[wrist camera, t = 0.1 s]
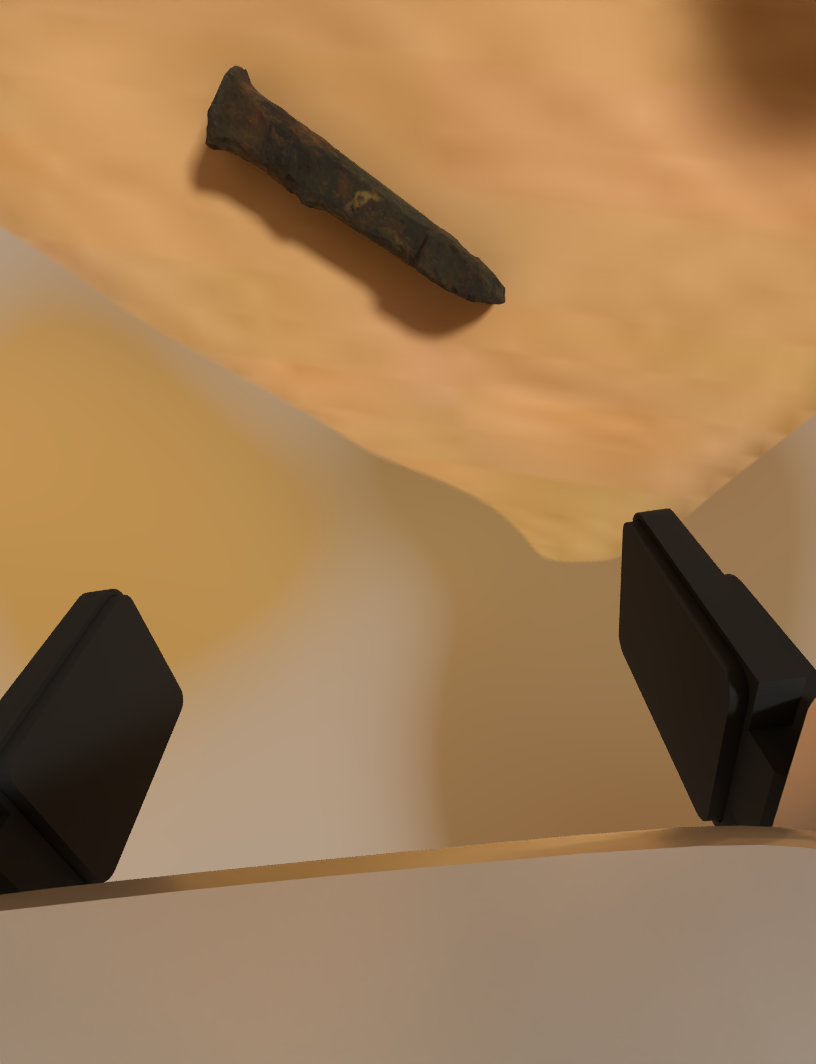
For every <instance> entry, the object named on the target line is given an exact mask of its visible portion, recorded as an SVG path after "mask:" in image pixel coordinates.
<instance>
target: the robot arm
mask: <svg viewBox="0 0 816 1064" xmlns="http://www.w3.org/2000/svg"><path fill="white" fill-rule="evenodd" d="M619 640H620V645H621V649H622V652H623V655H624V657H625V659H626V661H627V663H628V665H629V667H630V669H631V672H632V674H633V676H634V678H635V680H636V683H637V685H638V687H639V689H640V691H641V693H642V696H643V698H644V700H645V702H646V704H647V706H648V709H649V711H650V713H651V715H652V717H653V719H654V721H655V724H656V726H657V728H658V730H659V732H660V734H661V737H662V739H663V741H664V743H665V745H666V747H667V749H668V752H669V754H670V756H671V758H672V760H673V762H674V765H675V767H676V769H677V771H678V773H679V775H680V778H681V780H682V782H683V784H684V786H685V788H686V791H687V792H688V795H689V797H690V799H691V801H692V803H693V806H694V808H695V810H696V812H697V814H698V816H699V817H700V818H701V819H702V820H703V821H711V820H712V821H713V823H714V825H715V826H708V827H678V828H665V829H653V830H640V831H627V832H615V833H601V834H590V835H576V836H564V837H553V838H543V839H534V840H522V841H512V842H501V843H491V844H481V845H470V846H459V847H450V848H438V849H428V850H417V851H408V852H396V853H386V854H377V855H366V856H356V857H347V858H336V859H326V860H316V861H306V862H297V863H287V864H278V865H267V866H257V867H247V868H238V869H228V870H218V871H209V872H199V873H190V874H180V875H171V876H161V877H153V878H143V879H133V880H124V881H115V882H105V881H107V880H108V879H109V878H110V877H111V876H112V875H113V873H114V871H115V869H116V866H117V864H118V862H119V859H120V857H121V854H122V852H123V850H124V847H125V845H126V842H127V840H128V837H129V835H130V833H131V830H132V828H133V825H134V823H135V821H136V818H137V816H138V813H139V811H140V809H141V806H142V804H143V801H144V799H145V796H146V794H147V792H148V789H149V787H150V784H151V782H152V780H153V777H154V775H155V772H156V770H157V767H158V765H159V763H160V760H161V758H162V755H163V753H164V751H165V748H166V746H167V743H168V741H169V738H170V736H171V734H172V731H173V729H174V726H175V724H176V722H177V719H178V717H179V714H180V712H181V709H182V706H183V695H182V691H181V689H180V687H179V685H178V683H177V681H176V679H175V677H174V676H173V674H172V672H171V670H170V669H169V666H168V665H167V663H166V661H165V659H164V658H163V655H162V654H161V652H160V650H159V648H158V646H157V644H156V643H155V641H154V639H153V637H152V635H151V633H150V632H149V630H148V628H147V626H146V624H145V622H144V621H143V619H142V617H141V615H140V613H139V611H138V610H137V608H136V606H135V604H134V602H133V600H132V599H131V598H130V597H129V596H128V595H123V594H122V593H121V592H120V591H119V590H117V589H109V590H102V591H95V592H88V593H84V594H82V595H81V596H80V597H79V598H78V600H77V601H76V602H75V603H74V605H73V606H72V607H71V609H70V610H69V611H68V613H67V614H66V615H65V616H64V618H63V619H62V620H61V622H60V623H59V624H58V626H57V627H56V628H55V629H54V631H53V632H52V633H51V635H50V636H49V637H48V639H47V640H46V641H45V642H44V644H43V645H42V646H41V648H40V649H39V650H38V652H37V653H36V654H35V655H34V657H33V658H32V659H31V661H30V662H29V663H28V665H27V666H26V667H25V669H24V670H23V671H22V672H21V674H20V675H19V676H18V678H17V679H16V680H15V682H14V683H13V684H12V685H11V687H10V688H9V690H8V691H7V692H6V693H5V694H4V696H3V697H2V698H1V700H0V1064H816V670H815V669H814V667H813V666H812V665H811V664H810V663H809V661H808V660H807V659H806V658H805V657H804V655H803V654H802V653H801V652H800V651H799V649H798V648H797V647H796V646H795V645H794V644H793V642H792V641H791V640H790V639H789V638H788V636H787V635H786V634H785V633H784V632H783V630H782V629H781V628H780V627H779V626H778V625H777V623H776V622H775V621H774V620H773V618H772V617H771V616H770V615H769V614H768V612H767V611H766V610H765V609H764V608H763V606H762V605H761V604H760V603H759V602H758V601H757V599H756V598H755V597H754V596H753V595H752V594H751V592H750V591H749V590H748V589H747V587H746V586H745V585H744V584H743V583H742V582H741V581H740V580H739V579H738V578H737V577H736V576H734V575H731V574H726V575H724V574H723V573H722V572H721V570H720V569H719V568H718V567H717V565H716V564H715V563H714V562H713V560H712V559H711V558H710V557H709V555H708V554H707V553H706V552H705V550H704V549H703V548H702V547H701V546H700V545H699V543H698V542H697V541H696V539H695V538H694V537H693V536H692V534H691V533H690V532H689V531H688V529H687V528H686V527H685V526H684V525H683V523H682V522H681V521H680V520H679V518H678V517H677V516H676V515H675V513H674V512H673V511H672V510H671V509H660V510H653V511H646V512H639V513H636V514H635V515H634V517H633V522H626V523H625V524H624V526H623V541H622V567H621V593H620V618H619ZM104 882H105V883H104Z"/></svg>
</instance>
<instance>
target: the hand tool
mask: <svg viewBox="0 0 816 1064" xmlns="http://www.w3.org/2000/svg"><path fill="white" fill-rule="evenodd" d="M207 116H208V126H207V138H206V144H207V146H208V147H210V148H211V149H213V150H226V151H229V152H232V153H234V154H236V155H239V156H241V157H242V158H243V159H244V160H246V161H248V162H252V163H253V164H254V165H256V166H258V167H259V168H261V169H262V170H264V171H266V172H267V173H268V174H269V175H270V176H272V177H273V178H274V179H275V180H276V181H277V182H279V183H280V184H282V185H283V186H284V187H285V188H286V189H287V190H288V191H289V192H290V193H294V194H296V195H297V197H298V198H299V199H300V201H301V203H302V204H304V205H306V206H308V207H311V208H317V209H321V210H324V211H327V212H329V213H330V214H332V215H333V216H335V217H337V218H338V219H340V220H341V221H342V222H344V223H345V224H347V225H348V226H350V227H351V228H353V229H354V230H356V231H357V232H359V233H361V234H363V235H364V236H366V237H367V238H369V239H371V240H372V241H374V242H376V243H377V244H379V245H380V246H382V247H383V248H385V249H386V250H388V251H389V252H391V253H392V254H394V255H395V256H396V257H398V258H399V259H401V260H402V261H403V262H405V263H406V264H408V265H410V266H412V267H414V268H416V270H417V271H419V272H420V273H421V274H422V275H424V276H425V277H427V278H428V279H429V280H431V281H432V282H434V283H436V284H438V285H439V286H440V287H442V288H444V289H445V290H447V291H450V292H452V293H454V294H456V295H458V296H460V297H462V298H465V299H466V300H468V301H472V302H484V303H486V304H502V303H504V302H505V288H504V286H503V285H502V284H501V282H500V281H499V280H498V278H497V277H496V275H495V274H494V273H493V272H492V271H491V270H490V269H489V268H488V267H487V266H486V265H485V264H484V263H483V262H482V261H481V260H480V259H479V258H477V257H475V256H473V255H471V254H470V253H469V252H468V251H467V250H466V249H465V248H464V247H463V246H462V245H461V244H460V243H459V242H458V240H457V239H455V238H454V237H453V236H452V235H451V234H450V233H448V232H446V231H445V230H444V229H442V228H440V227H438V226H437V225H436V224H434V223H433V222H432V221H430V220H429V219H428V218H427V217H425V216H424V215H423V214H422V213H420V212H419V211H418V210H416V209H415V208H414V207H412V206H411V205H410V204H408V203H407V202H406V201H404V200H403V199H402V198H400V197H399V196H398V195H396V194H395V193H394V192H392V191H391V190H390V189H389V188H387V187H386V186H385V185H383V184H382V183H381V182H379V181H378V180H377V179H375V178H374V177H373V176H371V175H370V174H369V173H367V172H366V171H365V170H363V169H362V168H360V167H359V166H358V165H357V164H355V163H354V162H353V161H351V160H350V159H348V158H347V157H346V156H345V155H343V154H342V153H341V152H340V151H339V150H337V149H335V148H334V147H333V146H332V145H331V144H330V143H328V142H327V141H326V140H325V139H324V138H322V137H321V136H319V135H318V134H316V133H314V132H313V131H311V130H310V129H309V128H308V127H306V126H305V125H303V124H302V123H300V122H299V121H297V120H296V119H295V118H293V117H292V116H291V115H289V114H288V113H287V112H286V111H285V110H284V109H282V108H281V107H279V106H277V105H276V104H274V103H272V102H271V101H269V100H268V99H266V98H265V97H264V96H262V95H261V94H260V93H259V92H257V90H256V89H255V88H254V87H253V86H252V84H251V82H250V79H249V76H248V73H247V71H246V69H245V70H244V69H243V68H242V67H239V66H234V67H232V68H230V70H229V71H228V72H227V73H226V74H225V75H224V77H223V80H222V82H221V84H220V86H219V89H218V91H217V93H216V95H215V98H214V100H213V102H212V104H211V106H210V108H209V110H208V114H207Z"/></svg>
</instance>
